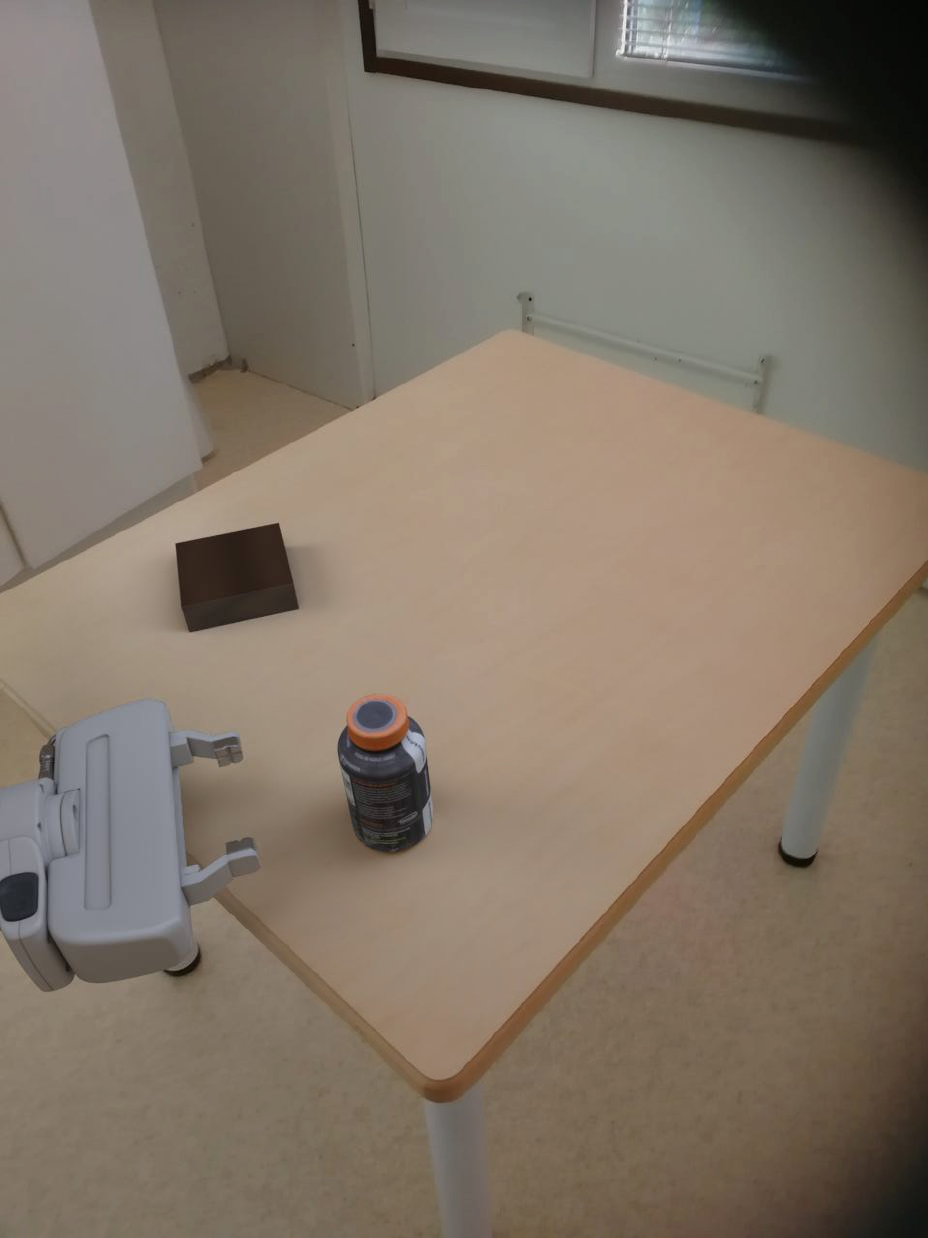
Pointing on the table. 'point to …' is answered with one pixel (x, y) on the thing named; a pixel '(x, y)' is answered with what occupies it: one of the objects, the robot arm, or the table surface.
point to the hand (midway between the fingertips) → (249, 796)
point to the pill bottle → (385, 774)
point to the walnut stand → (234, 577)
